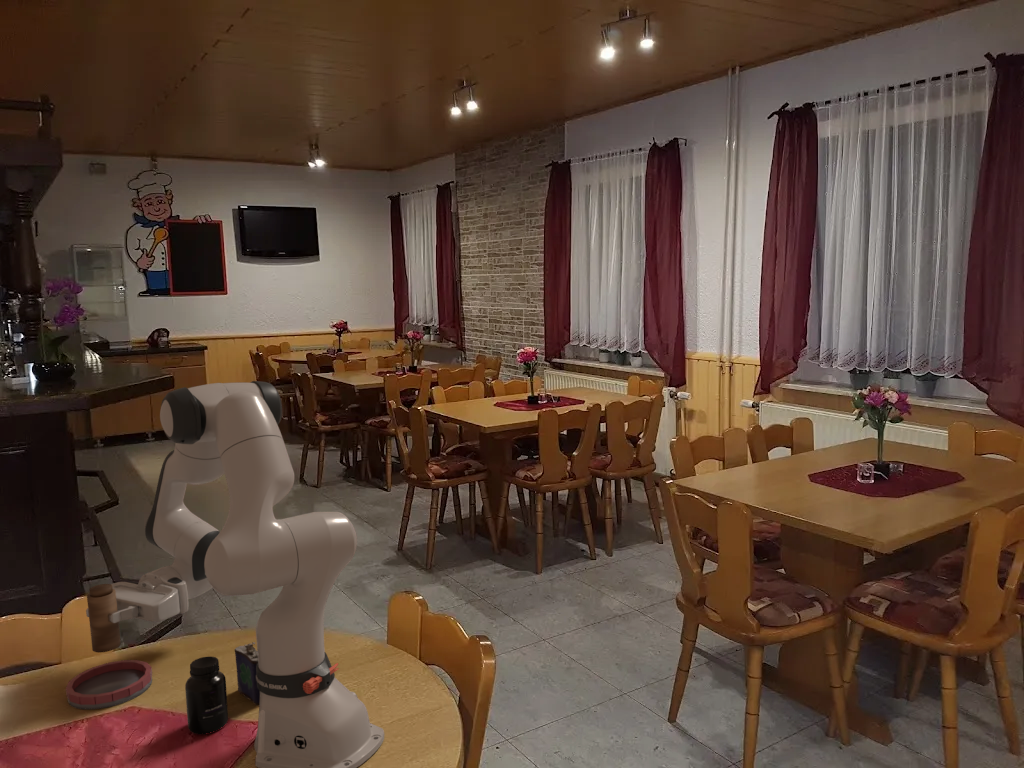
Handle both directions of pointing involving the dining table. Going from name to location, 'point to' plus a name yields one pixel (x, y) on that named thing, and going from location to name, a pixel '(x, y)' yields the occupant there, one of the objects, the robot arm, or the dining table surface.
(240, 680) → the flask
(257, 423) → the robot arm
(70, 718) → the dining table surface
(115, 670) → the round tray
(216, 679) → the supplement bottle
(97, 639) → the pepper mill
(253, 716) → the dining table surface
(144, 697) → the dining table surface
